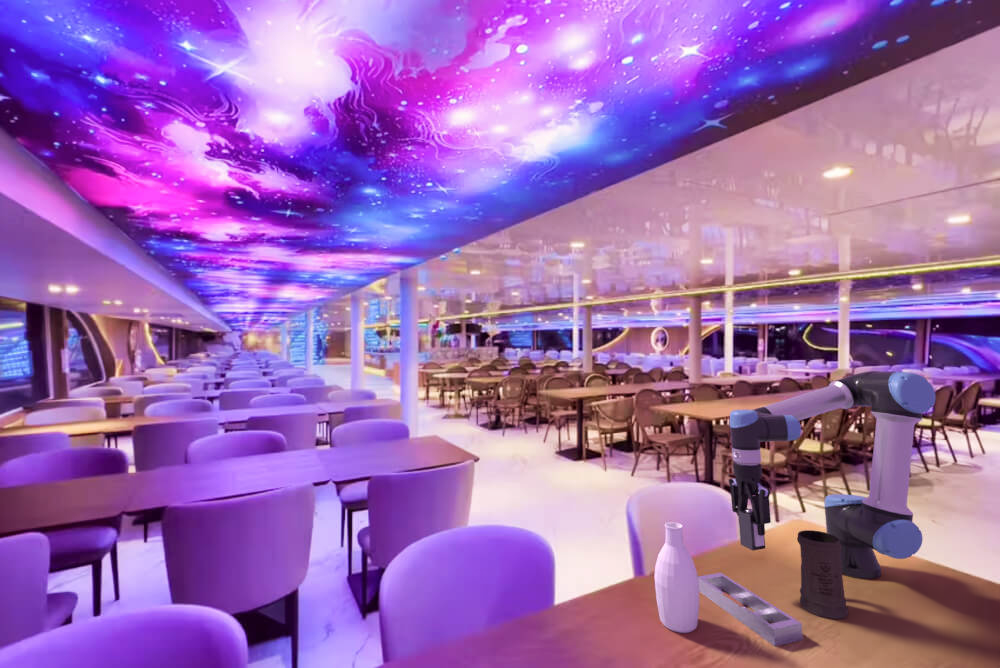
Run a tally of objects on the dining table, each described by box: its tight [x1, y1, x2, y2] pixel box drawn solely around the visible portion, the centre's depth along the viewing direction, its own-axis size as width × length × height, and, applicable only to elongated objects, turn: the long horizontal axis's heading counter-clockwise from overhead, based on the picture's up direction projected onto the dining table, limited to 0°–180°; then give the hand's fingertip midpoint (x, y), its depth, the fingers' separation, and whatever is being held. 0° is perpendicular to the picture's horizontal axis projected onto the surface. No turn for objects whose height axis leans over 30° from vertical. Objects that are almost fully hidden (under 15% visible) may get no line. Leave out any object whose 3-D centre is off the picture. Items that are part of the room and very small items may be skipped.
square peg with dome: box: [738, 508, 766, 551], centre depth 133 cm, size 4×4×11 cm
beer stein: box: [797, 529, 849, 620], centre depth 126 cm, size 15×11×20 cm
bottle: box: [654, 521, 700, 634], centre depth 119 cm, size 11×11×25 cm
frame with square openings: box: [697, 572, 803, 647], centre depth 122 cm, size 8×28×4 cm, turn 15°
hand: (752, 542), depth 132 cm, fingers closed on square peg with dome, 4 cm apart
